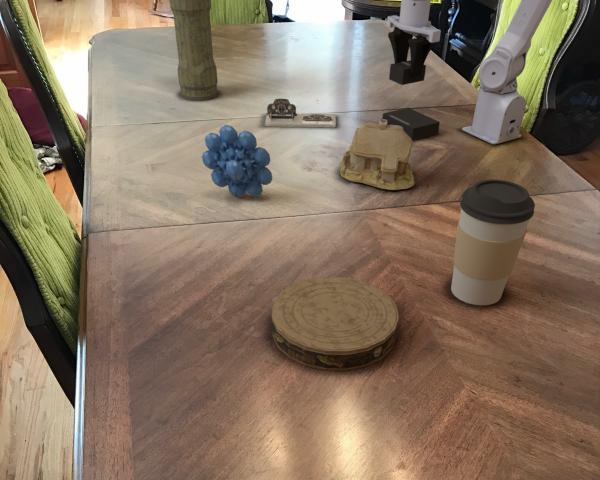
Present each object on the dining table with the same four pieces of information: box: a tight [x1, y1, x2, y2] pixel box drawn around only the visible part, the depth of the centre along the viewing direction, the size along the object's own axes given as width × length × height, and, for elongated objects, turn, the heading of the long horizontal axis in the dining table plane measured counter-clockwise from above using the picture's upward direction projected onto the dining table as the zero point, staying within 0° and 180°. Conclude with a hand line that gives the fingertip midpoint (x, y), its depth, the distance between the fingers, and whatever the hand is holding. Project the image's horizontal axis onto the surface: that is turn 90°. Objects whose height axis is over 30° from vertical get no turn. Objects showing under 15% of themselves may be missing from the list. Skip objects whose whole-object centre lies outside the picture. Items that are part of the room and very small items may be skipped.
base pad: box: [381, 107, 441, 142], centre depth 128 cm, size 10×7×3 cm
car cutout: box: [264, 98, 337, 128], centre depth 131 cm, size 15×7×4 cm, turn 88°
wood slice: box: [271, 276, 400, 372], centre depth 78 cm, size 16×16×3 cm
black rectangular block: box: [388, 59, 427, 86], centre depth 130 cm, size 4×6×3 cm
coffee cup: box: [450, 178, 536, 306], centre depth 80 cm, size 9×9×15 cm
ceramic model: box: [338, 118, 415, 191], centre depth 109 cm, size 14×11×10 cm
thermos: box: [169, 0, 219, 102], centre depth 132 cm, size 9×12×35 cm
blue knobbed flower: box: [201, 124, 273, 199], centre depth 101 cm, size 12×7×12 cm, turn 85°
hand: (407, 72), depth 130 cm, fingers closed on black rectangular block, 4 cm apart
